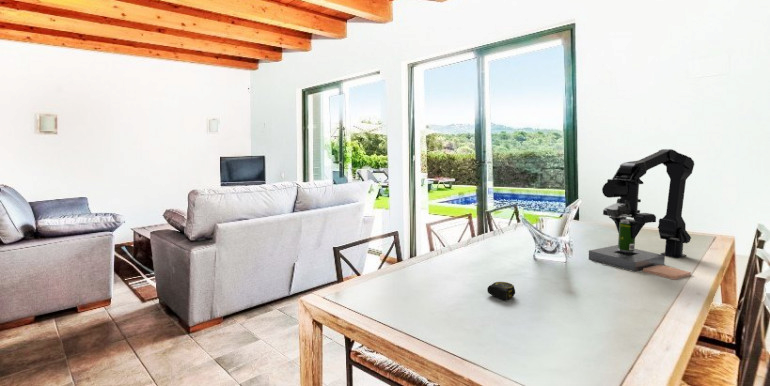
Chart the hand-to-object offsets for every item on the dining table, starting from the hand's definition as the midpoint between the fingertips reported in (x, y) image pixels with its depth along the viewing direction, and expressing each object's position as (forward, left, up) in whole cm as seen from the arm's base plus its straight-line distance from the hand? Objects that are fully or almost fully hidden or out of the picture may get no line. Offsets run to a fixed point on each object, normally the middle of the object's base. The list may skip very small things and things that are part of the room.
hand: (626, 237), depth 149 cm
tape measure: (+67, +5, -10) cm, 68 cm away
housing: (0, 0, -10) cm, 10 cm away
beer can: (0, 0, -6) cm, 6 cm away
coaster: (+1, +15, -10) cm, 18 cm away
